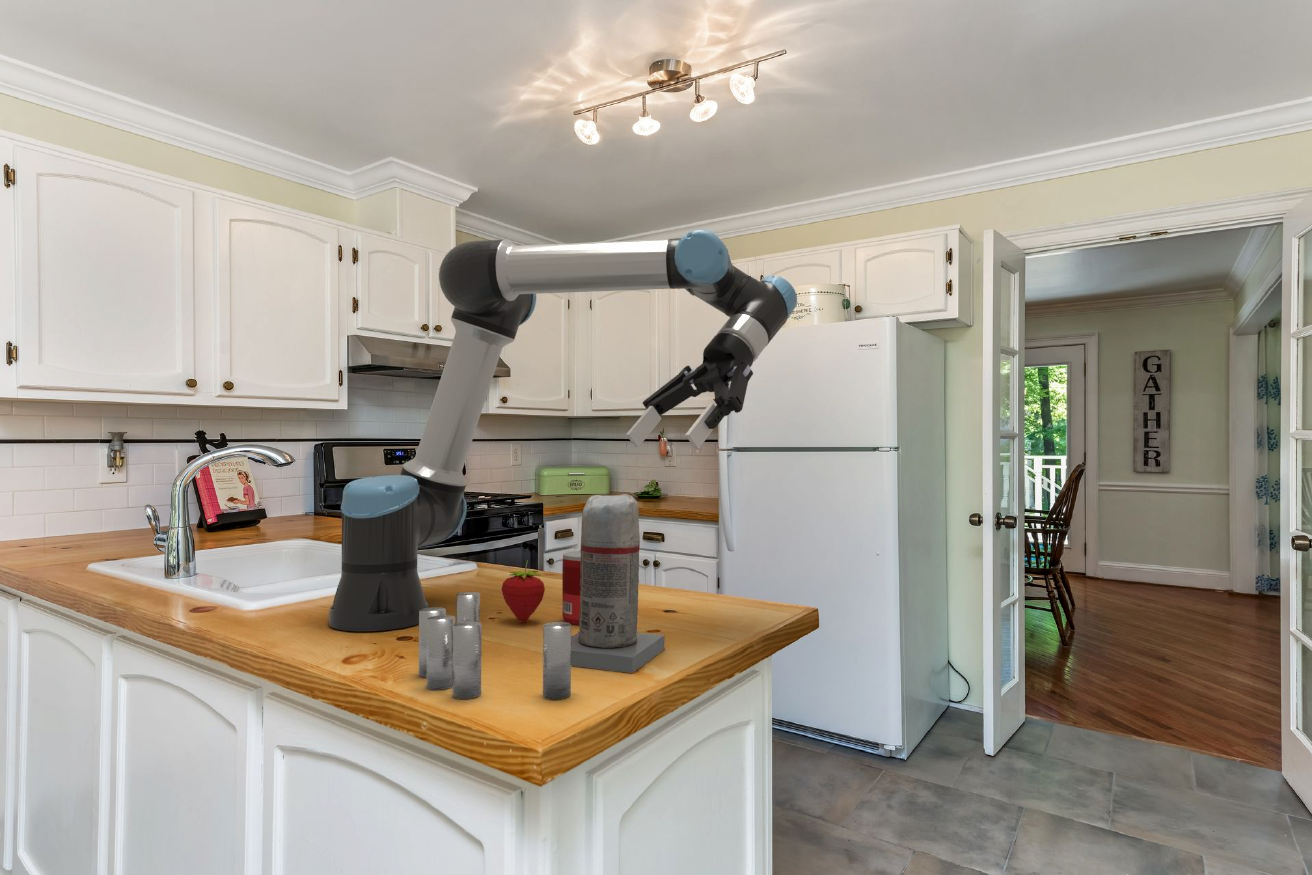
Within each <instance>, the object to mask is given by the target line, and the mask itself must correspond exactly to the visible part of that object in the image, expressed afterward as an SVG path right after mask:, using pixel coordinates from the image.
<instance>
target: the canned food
mask: <svg viewBox="0 0 1312 875" xmlns="http://www.w3.org/2000/svg"><path fill="white" fill-rule="evenodd" d="M561 566H562V569H561V570H562V574H561V575H562V578H561V579H562V584H561V585H562V593H561V594H562V595H561V596H562V599H561V600H562V604H561V605H562V607H561V608H562V615H561V616H562V618H563V622H566V623H570V624H571V625H574V626H579V615H580V595H581V594H580V591H581V587H580V580H581V573H580V572H581V551H580V550H572V551H566V552H564V553H563V554H562V565H561Z"/></svg>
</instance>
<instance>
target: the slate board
mask: <svg viewBox="0 0 1312 875" xmlns="http://www.w3.org/2000/svg"><path fill="white" fill-rule="evenodd" d="M636 635H637V641H635V643H633V644H630V645H627V646H624V647H610V648H606V647H604V648H602V647H595V646H588V645H587V644H586V645H585V644H583V643H581V642H580V641H579V640H578V637H579V631H578V632H577V633H575V634H573V635H571V667H578V668H584V669H585V668H586V669H592V670H593V669H595V670H603V671H612V672H618V673H619V672H621V673H628V674H633V673H635V672H636V671H638V670H639V669H640V668H642V667H643V666H644V665H645V664H647V663H648V662H650V661H651V660H652V659H654V658H656V656H658V655H659V654H660V653H662V652H663V651H665V647H666V646H665V644H666V643H665V642H666V641H665V639H666V638H665V637H666V636H665V634H655V633H649V632H648V633H646V632H637V633H636Z"/></svg>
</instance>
